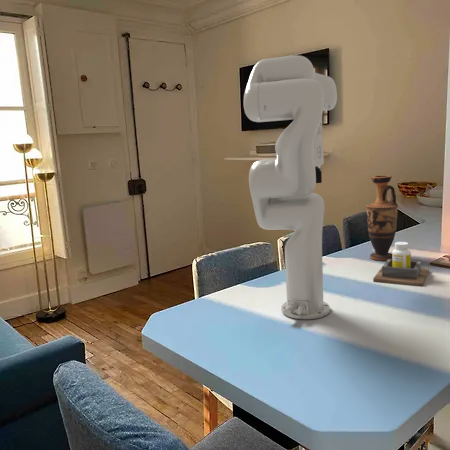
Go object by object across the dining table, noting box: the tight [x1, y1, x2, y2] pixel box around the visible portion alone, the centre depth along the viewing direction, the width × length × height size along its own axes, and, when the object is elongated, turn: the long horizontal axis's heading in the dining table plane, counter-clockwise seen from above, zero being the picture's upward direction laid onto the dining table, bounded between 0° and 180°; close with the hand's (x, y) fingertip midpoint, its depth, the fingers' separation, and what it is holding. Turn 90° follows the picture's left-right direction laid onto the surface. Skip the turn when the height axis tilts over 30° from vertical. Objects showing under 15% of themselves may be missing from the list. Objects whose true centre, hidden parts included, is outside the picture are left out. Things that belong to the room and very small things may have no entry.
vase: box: [365, 174, 399, 262], centre depth 160 cm, size 11×11×30 cm
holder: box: [372, 259, 430, 287], centre depth 140 cm, size 16×14×4 cm
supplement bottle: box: [391, 241, 412, 268], centre depth 139 cm, size 5×5×10 cm
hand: (311, 184), depth 141 cm, fingers open, 9 cm apart
